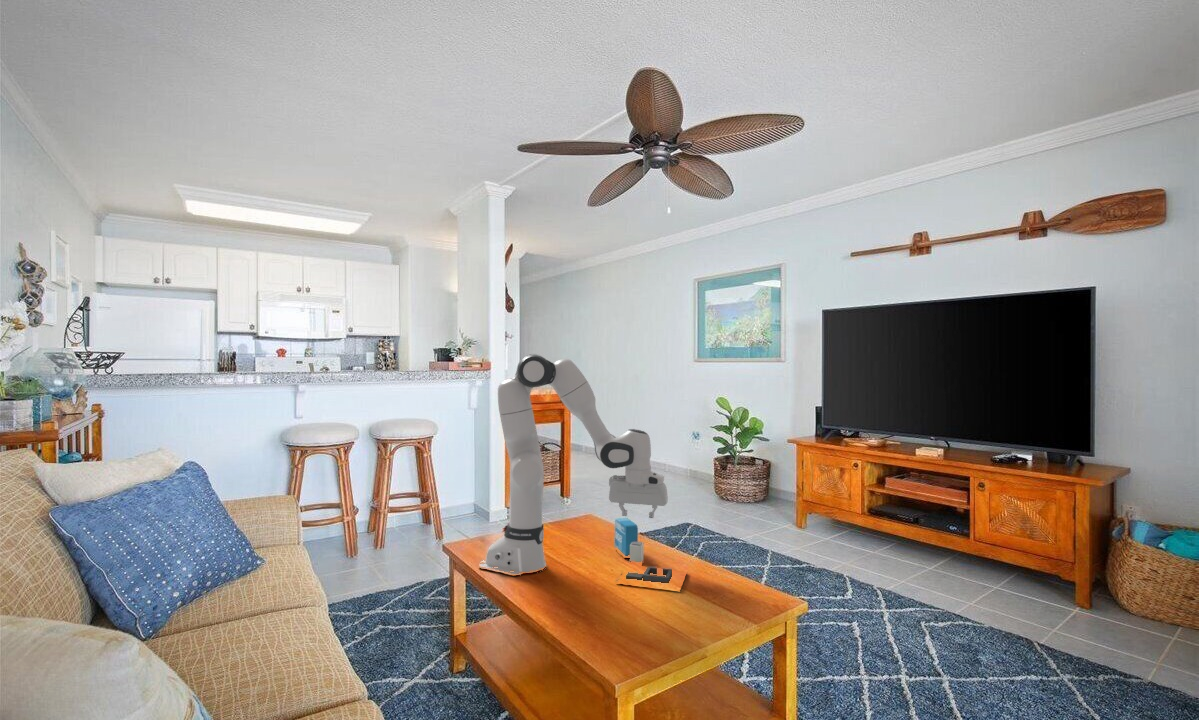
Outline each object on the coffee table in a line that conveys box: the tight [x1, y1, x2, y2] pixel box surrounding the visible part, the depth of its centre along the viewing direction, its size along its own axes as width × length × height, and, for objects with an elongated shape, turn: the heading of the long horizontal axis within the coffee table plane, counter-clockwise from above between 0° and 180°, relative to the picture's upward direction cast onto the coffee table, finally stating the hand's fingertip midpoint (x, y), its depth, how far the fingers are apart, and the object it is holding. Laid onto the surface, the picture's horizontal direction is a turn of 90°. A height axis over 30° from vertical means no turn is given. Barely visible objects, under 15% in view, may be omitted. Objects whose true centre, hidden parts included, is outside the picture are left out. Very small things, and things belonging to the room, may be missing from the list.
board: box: [615, 566, 673, 583], centre depth 185 cm, size 20×16×3 cm
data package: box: [614, 517, 639, 556], centre depth 209 cm, size 12×4×12 cm, turn 18°
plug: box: [629, 541, 645, 562], centre depth 199 cm, size 4×4×7 cm
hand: (638, 516), depth 199 cm, fingers open, 8 cm apart
